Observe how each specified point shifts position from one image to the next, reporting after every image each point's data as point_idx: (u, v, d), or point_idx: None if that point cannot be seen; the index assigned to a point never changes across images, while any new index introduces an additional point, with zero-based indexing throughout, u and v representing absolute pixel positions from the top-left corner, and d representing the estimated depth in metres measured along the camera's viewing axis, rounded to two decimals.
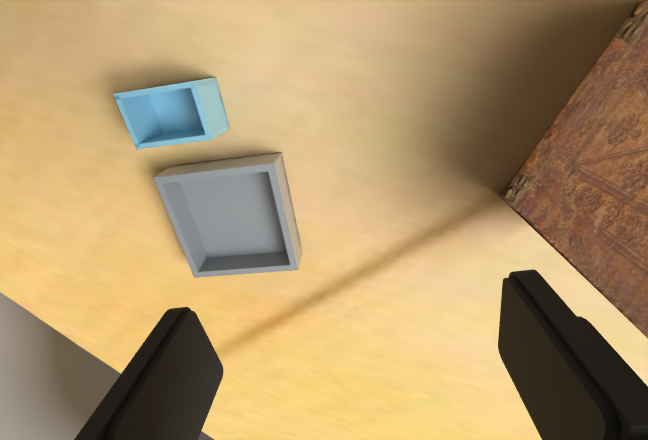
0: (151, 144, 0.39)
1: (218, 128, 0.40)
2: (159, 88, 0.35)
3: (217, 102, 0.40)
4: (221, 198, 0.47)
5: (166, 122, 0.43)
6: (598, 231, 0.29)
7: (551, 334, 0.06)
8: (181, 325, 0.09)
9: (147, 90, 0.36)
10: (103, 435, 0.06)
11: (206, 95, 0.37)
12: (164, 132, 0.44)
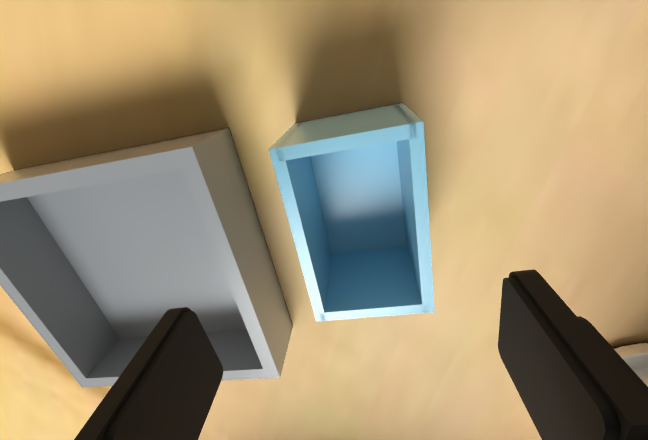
0: (288, 194, 0.14)
1: None
2: (426, 244, 0.15)
3: None
4: (182, 235, 0.23)
5: None
6: None
7: (551, 334, 0.06)
8: (181, 325, 0.09)
9: (424, 217, 0.14)
10: (103, 435, 0.06)
11: None
12: None
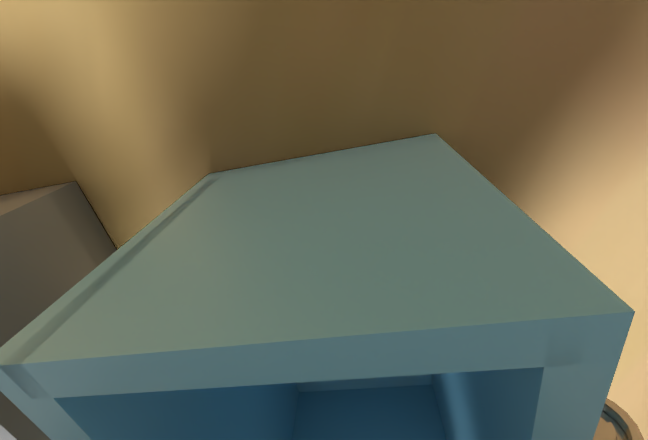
0: None
1: None
2: None
3: None
4: None
5: None
6: None
7: None
8: None
9: None
10: None
11: None
12: None
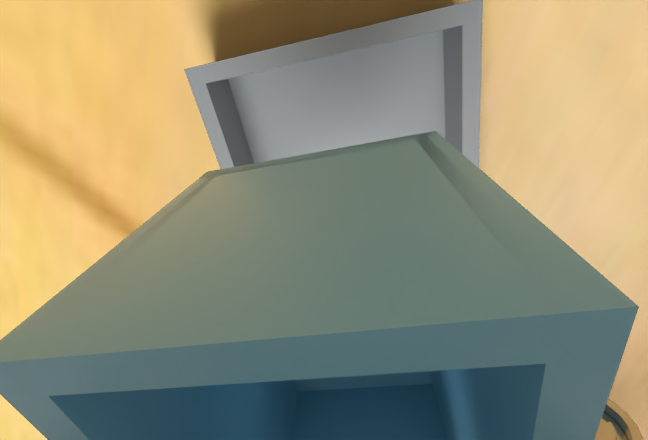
0: None
1: None
2: None
3: None
4: (382, 129, 0.23)
5: None
6: None
7: None
8: None
9: None
10: None
11: None
12: None
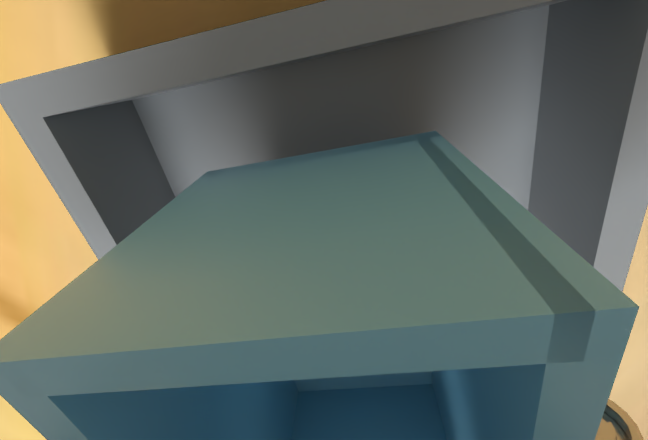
0: None
1: None
2: None
3: None
4: None
5: None
6: None
7: None
8: None
9: None
10: None
11: None
12: None
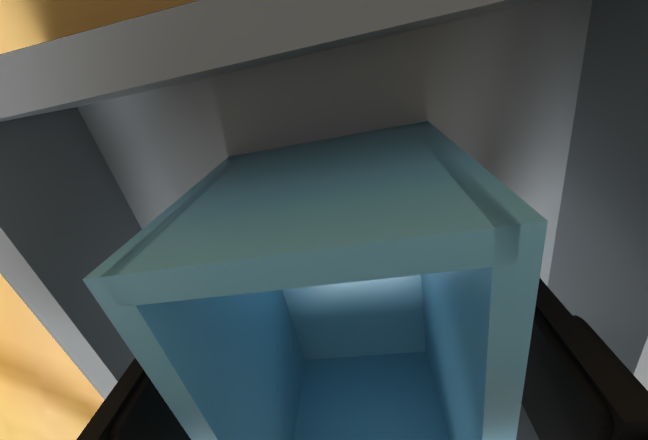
0: (164, 372, 0.06)
1: None
2: None
3: None
4: None
5: None
6: None
7: (546, 332, 0.06)
8: None
9: (505, 426, 0.06)
10: (107, 432, 0.06)
11: None
12: None
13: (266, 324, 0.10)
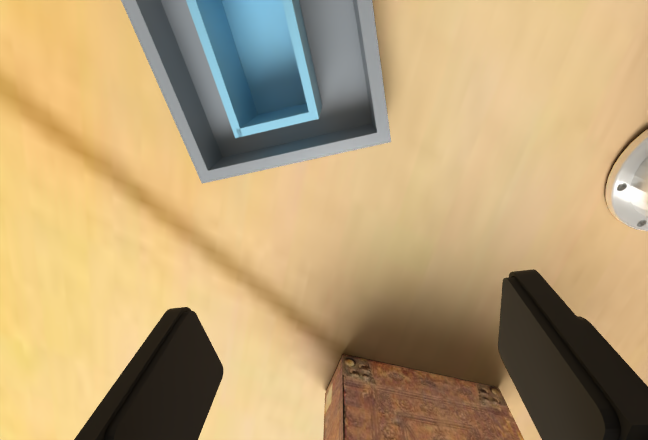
0: (197, 17, 0.20)
1: None
2: (301, 55, 0.21)
3: None
4: None
5: (242, 10, 0.25)
6: None
7: (551, 334, 0.06)
8: (181, 325, 0.09)
9: (295, 29, 0.20)
10: (103, 435, 0.06)
11: None
12: (223, 3, 0.24)
13: (233, 61, 0.25)
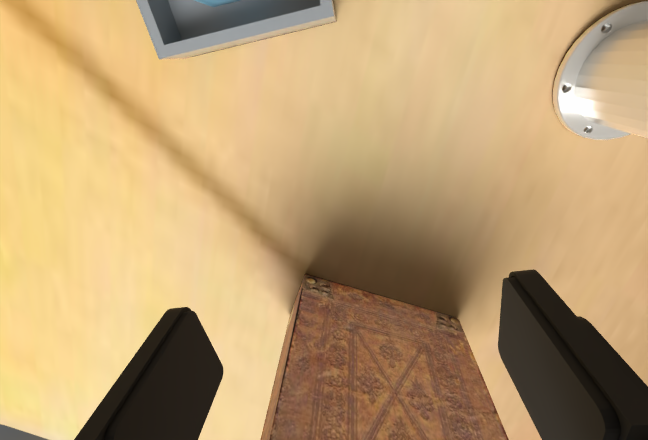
0: None
1: None
2: None
3: None
4: None
5: None
6: (319, 378, 0.33)
7: (551, 334, 0.06)
8: (181, 325, 0.09)
9: None
10: (103, 435, 0.06)
11: None
12: None
13: None
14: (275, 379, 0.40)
